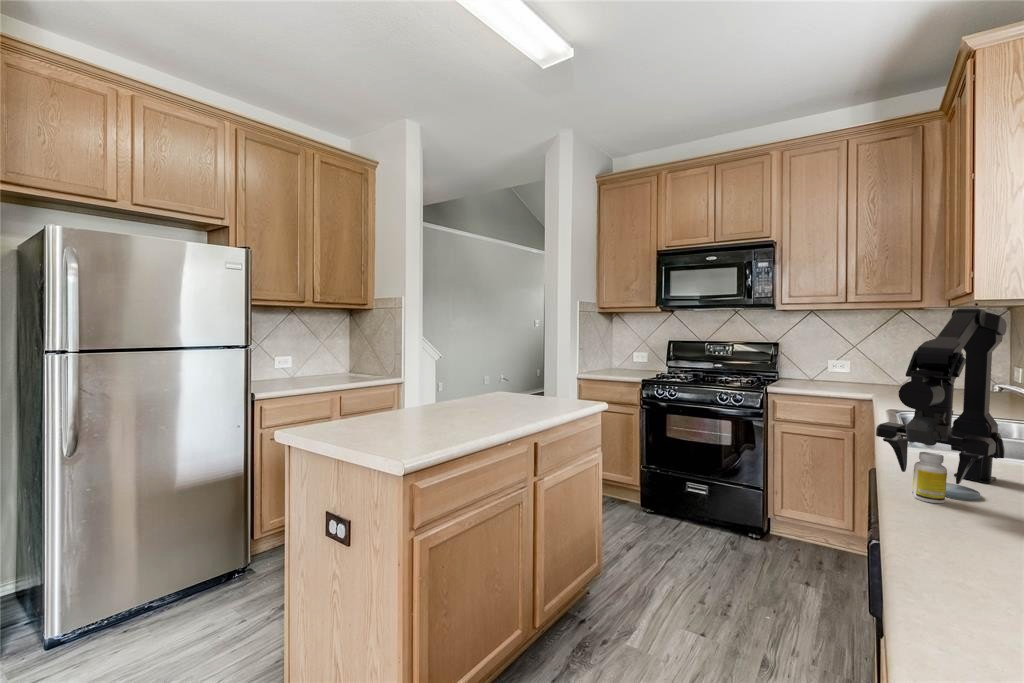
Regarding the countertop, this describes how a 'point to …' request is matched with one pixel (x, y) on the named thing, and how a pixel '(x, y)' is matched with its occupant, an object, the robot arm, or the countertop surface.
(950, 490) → the dish
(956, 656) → the countertop surface
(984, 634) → the countertop surface
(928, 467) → the supplement bottle
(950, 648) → the countertop surface
